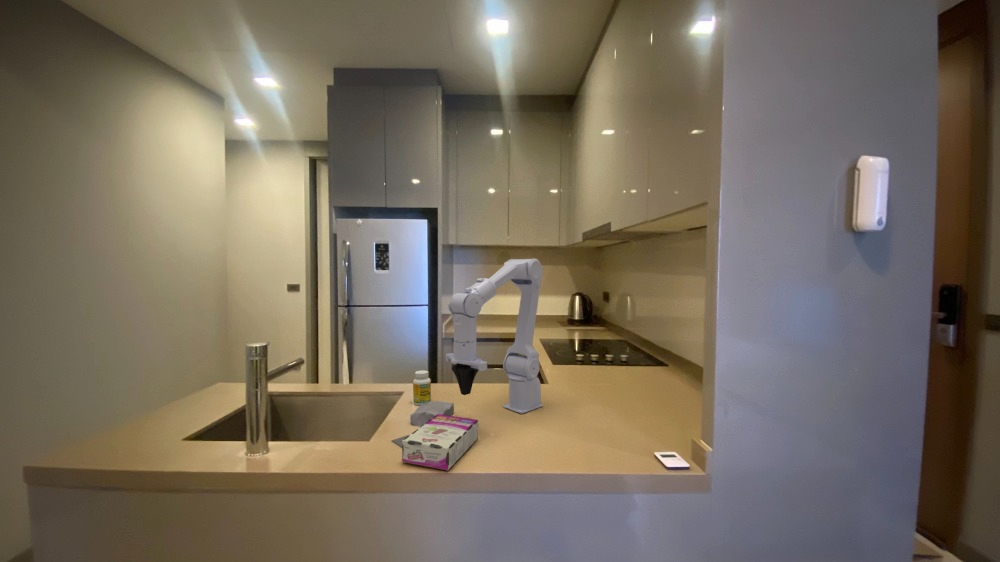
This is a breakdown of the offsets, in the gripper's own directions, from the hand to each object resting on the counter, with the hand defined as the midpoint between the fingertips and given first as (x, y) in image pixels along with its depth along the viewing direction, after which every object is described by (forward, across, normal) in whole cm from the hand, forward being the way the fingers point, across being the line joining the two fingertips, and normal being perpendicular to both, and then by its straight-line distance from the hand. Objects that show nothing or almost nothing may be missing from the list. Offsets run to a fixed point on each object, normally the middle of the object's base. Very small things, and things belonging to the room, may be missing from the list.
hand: (465, 393), depth 101 cm
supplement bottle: (+10, -26, +3) cm, 28 cm away
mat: (+10, -1, -11) cm, 14 cm away
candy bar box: (+7, +1, -3) cm, 8 cm away
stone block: (+10, -13, -2) cm, 17 cm away
